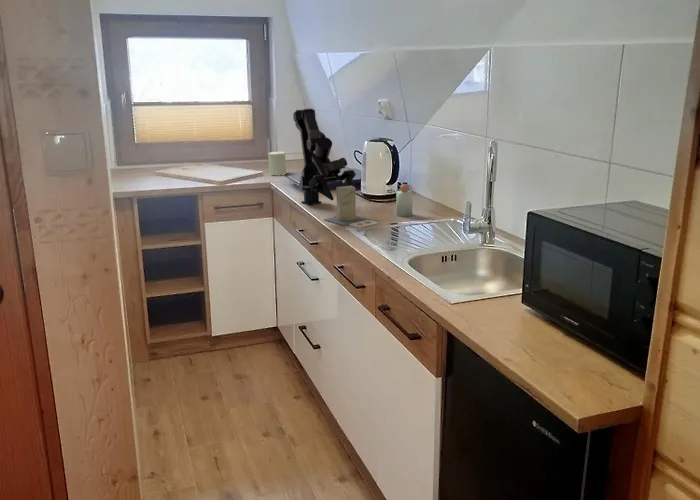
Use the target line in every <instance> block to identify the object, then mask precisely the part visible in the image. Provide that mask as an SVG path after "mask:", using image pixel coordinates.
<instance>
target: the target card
mask: <svg viewBox="0 0 700 500" xmlns="http://www.w3.org/2000/svg"><path fill="white" fill-rule="evenodd" d="M379 224H380V223H379V222H377V221H374V220H370V219H369V220H365V221H361V222H356V223H352V224H349V225H348V226H352V227H355V228H358V229H360V228H366V227H369V226H375V225H379Z"/></svg>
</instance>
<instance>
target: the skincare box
mask: <svg viewBox="0 0 700 500" xmlns="http://www.w3.org/2000/svg"><path fill="white" fill-rule="evenodd" d="M335 190H336V194H335V195H336V217H337V219H339V220H340V221H345V220H355V219H356V216H357V214H356V211H357V209H356V208H357V205H356V187H355V186H353V185H352V186H342V185H341V186H336V188H335Z"/></svg>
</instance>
